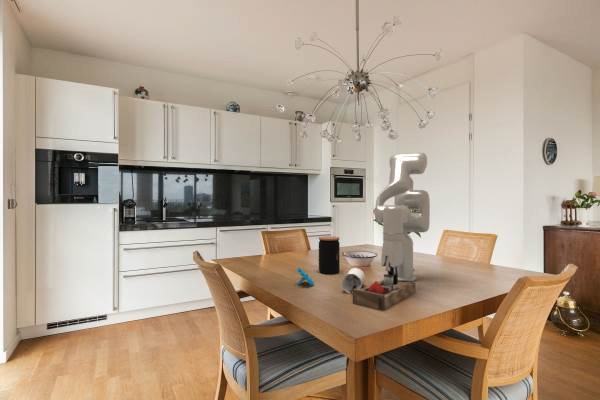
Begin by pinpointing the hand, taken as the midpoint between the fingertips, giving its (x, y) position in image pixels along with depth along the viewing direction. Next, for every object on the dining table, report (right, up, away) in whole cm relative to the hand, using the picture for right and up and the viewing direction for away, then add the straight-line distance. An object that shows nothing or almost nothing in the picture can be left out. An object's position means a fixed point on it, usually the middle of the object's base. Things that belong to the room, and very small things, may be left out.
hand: (393, 283), depth 129 cm
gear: (-34, -5, +15) cm, 38 cm away
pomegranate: (-9, -4, -10) cm, 14 cm away
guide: (-4, -4, -4) cm, 7 cm away
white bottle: (-14, -5, +10) cm, 18 cm away
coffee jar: (-22, -4, +39) cm, 45 cm away
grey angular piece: (-3, -4, -3) cm, 6 cm away
